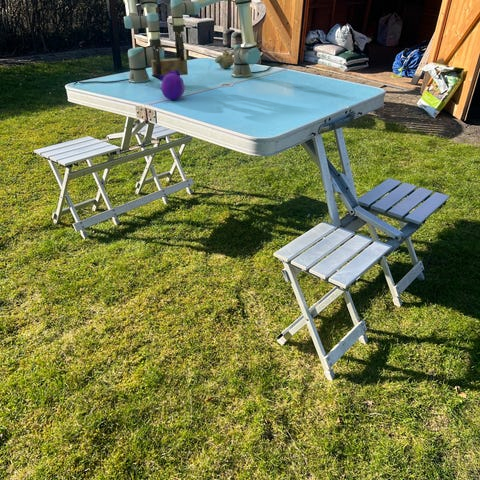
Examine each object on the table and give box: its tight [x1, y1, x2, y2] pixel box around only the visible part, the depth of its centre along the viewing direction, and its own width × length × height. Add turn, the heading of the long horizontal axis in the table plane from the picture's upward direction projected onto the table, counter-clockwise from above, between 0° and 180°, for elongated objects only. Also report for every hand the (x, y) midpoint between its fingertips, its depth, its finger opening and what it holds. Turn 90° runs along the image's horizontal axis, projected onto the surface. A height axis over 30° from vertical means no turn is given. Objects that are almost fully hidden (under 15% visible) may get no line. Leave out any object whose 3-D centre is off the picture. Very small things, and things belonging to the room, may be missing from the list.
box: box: [151, 57, 189, 76], centre depth 309 cm, size 23×8×10 cm, turn 107°
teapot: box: [214, 49, 234, 70], centre depth 375 cm, size 21×12×15 cm, turn 120°
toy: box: [151, 70, 186, 101], centre depth 286 cm, size 16×18×27 cm
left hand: (158, 74), depth 309 cm, fingers closed on box, 8 cm apart
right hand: (180, 59), depth 309 cm, fingers open, 13 cm apart
